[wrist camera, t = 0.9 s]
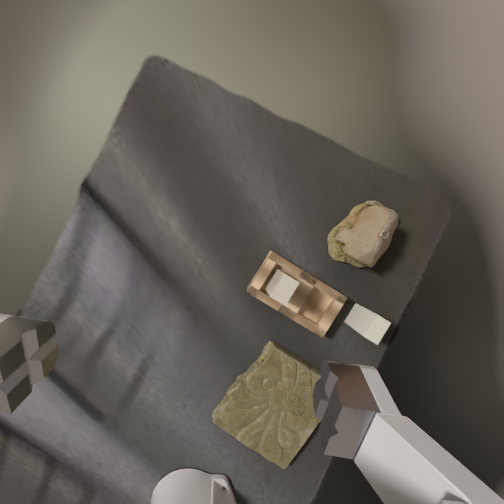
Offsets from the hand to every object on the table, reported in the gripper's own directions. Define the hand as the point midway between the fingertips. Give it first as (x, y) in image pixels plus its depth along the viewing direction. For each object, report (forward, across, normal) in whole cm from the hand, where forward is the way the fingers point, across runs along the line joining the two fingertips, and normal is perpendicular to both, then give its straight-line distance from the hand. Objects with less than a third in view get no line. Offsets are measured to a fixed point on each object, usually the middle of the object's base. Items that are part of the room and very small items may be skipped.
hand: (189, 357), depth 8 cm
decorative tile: (+34, +12, -41) cm, 55 cm away
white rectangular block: (+40, +26, -23) cm, 53 cm away
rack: (+41, +13, -20) cm, 47 cm away
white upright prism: (+40, +9, -17) cm, 45 cm away
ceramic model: (+46, +24, -7) cm, 53 cm away
